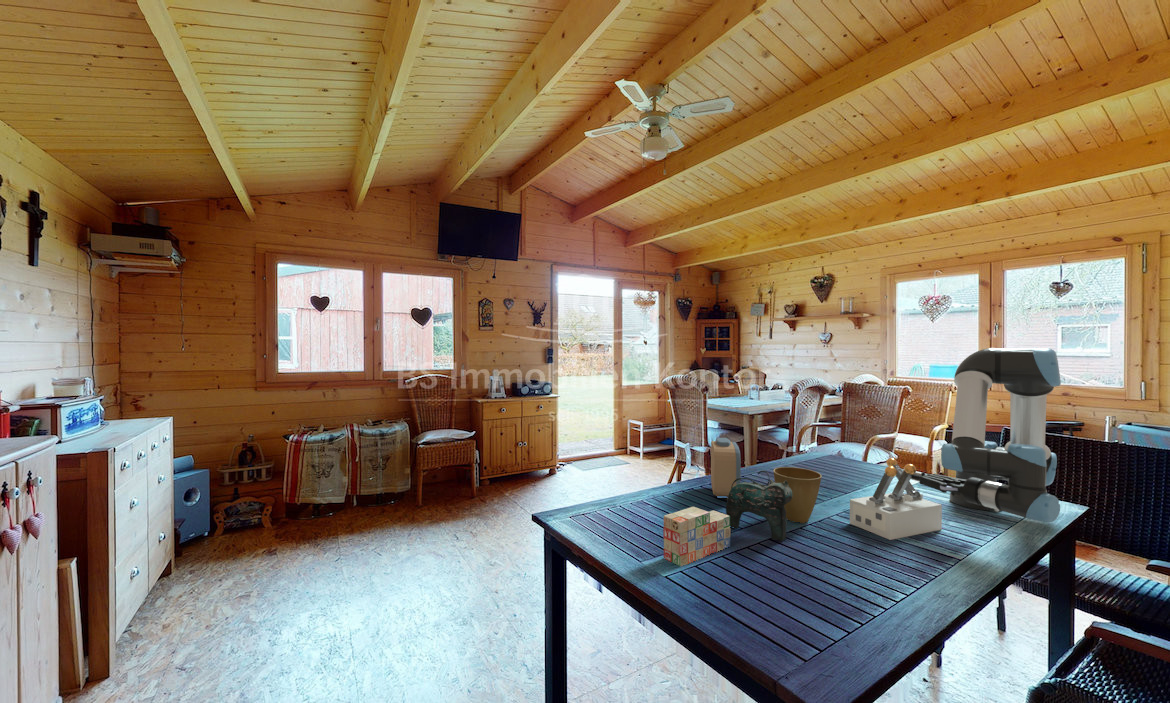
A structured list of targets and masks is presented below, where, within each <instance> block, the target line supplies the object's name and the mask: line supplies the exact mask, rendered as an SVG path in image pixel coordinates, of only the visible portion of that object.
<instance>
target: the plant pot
mask: <svg viewBox="0 0 1170 703" xmlns="http://www.w3.org/2000/svg"><path fill="white" fill-rule="evenodd" d="M772 473H773V478H774V480H773V481H774V483H783V482H784V481H785V480H786V481H787V482H788V485H789V487H790V488H791V490H792V499H791V500H790V501H789V502H788V503H787V504H785V505H784V507H785V510H786V520H787V519H788V520H790V521H789V522H791V521H794V522H793V523H795V522H800V523H799V524H805V522H806V523H808V521H809V519H810V518H811V515H812V513H813V511H814V509H815V508H814V507H815V505H816V502H817V498H818V494H819V491H820V487H821V481H822V476H823V475H822V474H821V473H820V472H818V471H814V470H812V469H808V468H802V467H794V466H780V467H775V468H774V469H773V472H772ZM788 520H787V521H788Z"/></svg>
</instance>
